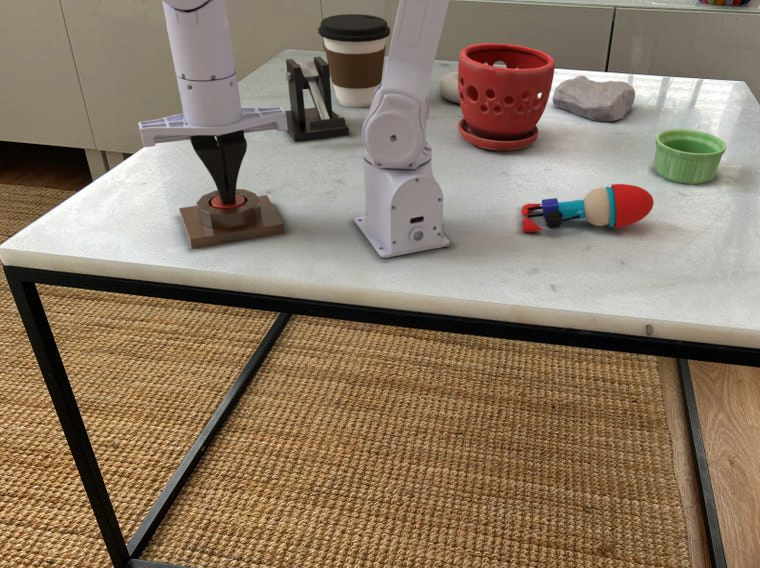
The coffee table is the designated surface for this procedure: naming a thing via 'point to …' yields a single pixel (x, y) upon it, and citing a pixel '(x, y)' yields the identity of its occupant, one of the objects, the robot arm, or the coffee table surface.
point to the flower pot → (503, 94)
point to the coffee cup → (355, 55)
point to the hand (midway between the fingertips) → (227, 200)
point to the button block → (230, 220)
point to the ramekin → (688, 155)
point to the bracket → (301, 116)
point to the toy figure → (594, 208)
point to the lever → (317, 99)
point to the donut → (450, 87)
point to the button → (218, 204)
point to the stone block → (595, 98)
